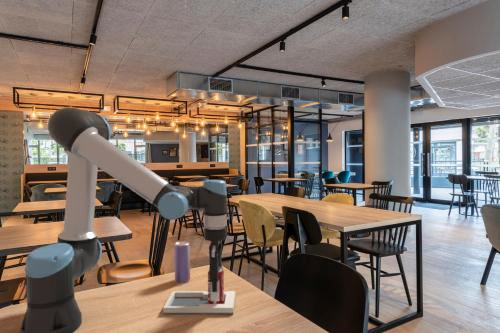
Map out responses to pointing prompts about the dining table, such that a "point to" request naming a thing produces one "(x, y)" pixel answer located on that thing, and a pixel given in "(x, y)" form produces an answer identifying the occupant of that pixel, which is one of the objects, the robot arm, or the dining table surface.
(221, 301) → the soda can
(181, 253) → the beverage can
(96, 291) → the dining table surface
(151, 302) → the dining table surface
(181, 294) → the keyhole board
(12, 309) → the dining table surface
